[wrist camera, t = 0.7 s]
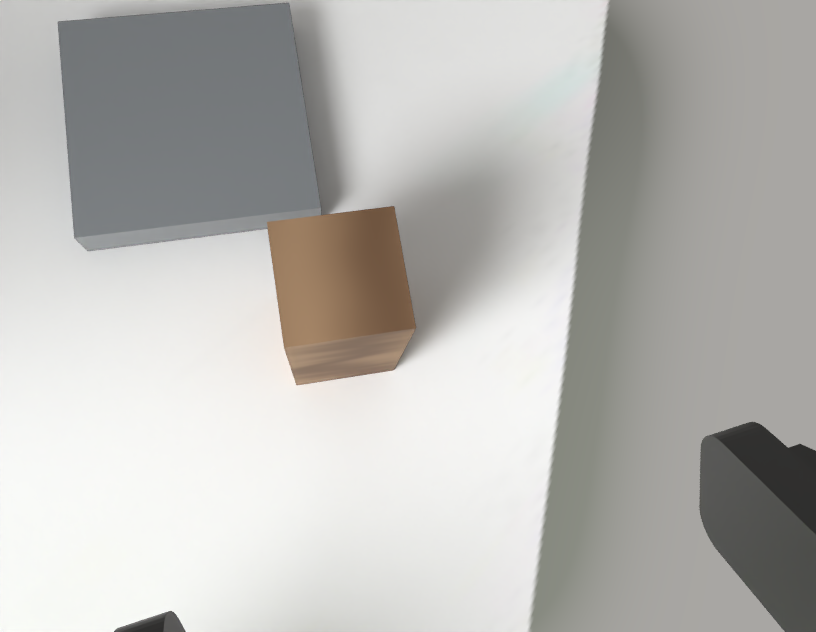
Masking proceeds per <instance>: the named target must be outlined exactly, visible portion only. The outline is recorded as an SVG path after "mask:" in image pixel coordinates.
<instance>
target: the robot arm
mask: <svg viewBox="0 0 816 632" xmlns="http://www.w3.org/2000/svg"><path fill="white" fill-rule="evenodd" d="M700 515H701V519H702V522H703V525H704V528H705V530H706V532H707V534H708V537H709V538H710V540H711V542H712V543H713V545H714V547H715V548H716V549H717V550H718V552H719V553H720V554H721V555H722V557H723V558H724V559H725V560H726V561H727V563H728V564H729V565H730V566H731V567H732V568H733V570H734V571H735V572H736V573H737V574H738V576H739V577H740V578H741V579H742V581H743V582H744V583H745V584H746V585H747V586H748V588H749V589H750V590H751V591H752V593H753V594H754V595H755V596H756V597H757V599H758V600H759V601H760V602H761V603H762V605H763V606H764V607H765V608H766V609H767V611H768V612H769V613H770V614H771V615H772V617H773V618H774V619H775V620H776V621H777V623H778V624H779V625H780V626H781V628H782V629H783V630H784V631H785V632H816V451H815V450H812V449H810V448H808V447H806V446H803V445H801V444H799V445H796V446H793V447H790V448H788V447H786V446H785V445H784V444H783V443H782V442H781V441H779V440H778V439H777V438H776V437H775V436H774V435H773V434H771V433H770V432H769V431H768V430H767V429H766V428H764V427H763V426H762V425H760V424H758V423H756V422H749V423H746V424H743V425H739V426H736V427H733V428H730V429H728V430H725V431H721V432H718V433H715V434H712V435H709V436H706V437H705V438H704V439H703V440H702V443H701V462H700ZM114 632H186V631H185V630H184V628H183V626H182V624H181V622H180V620H179V619H178V617H177V615H176V614H175V613H174V612H172V611H169V612H166V613H162V614H159V615H156V616H153V617H150V618H147V619H144V620H141V621H138V622H135V623H132V624H129V625H126V626H123V627H120V628H117V629H116V630H115V631H114Z"/></svg>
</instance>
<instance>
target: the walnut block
mask: <svg viewBox="0 0 816 632" xmlns="http://www.w3.org/2000/svg"><path fill="white" fill-rule="evenodd" d="M267 227H268V234H269V242H270V249H271V256H272V263H273V271H274V278H275V285H276V292H277V300H278V307H279V314H280V321H281V328H282V336H283V343H284V349H285V352H286V355H287V358H288V361H289V364H290V367H291V370H292V373H293V376H294V379H295V382H296V385H302V384H309V383H315V382H321V381H328V380H334V379H341V378H347V377H353V376H360V375H366V374H373V373H379V372H385V371H392V370H394V369H395V367H396V365H397V363H398V361H399V359H400V357H401V356H402V354H403V352H404V350H405V348H406V346H407V344H408V342H409V340H410V339H411V337H412V335H413V333H414V331H415V329H416V325H415V320H414V314H413V309H412V303H411V298H410V292H409V286H408V281H407V275H406V270H405V264H404V259H403V253H402V247H401V242H400V236H399V231H398V225H397V220H396V214H395V208H394V206H392V207H383V208H375V209H367V210H359V211H351V212H343V213H335V214H327V215H319V216H311V217H303V218H295V219H287V220H278V221H270V222H267Z"/></svg>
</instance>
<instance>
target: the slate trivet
mask: <svg viewBox="0 0 816 632" xmlns="http://www.w3.org/2000/svg"><path fill="white" fill-rule="evenodd" d="M58 31H59V44H60V57H61V70H62V83H63V96H64V109H65V122H66V135H67V149H68V162H69V175H70V188H71V201H72V214H73V227H74V238H75V239H76V240H77V241H78V242H79V243H80V244H81V245H82V246H83V247H84V248H85V249H86V250H87V251H93V250H101V249H109V248H117V247H125V246H133V245H141V244H149V243H157V242H165V241H173V240H181V239H189V238H197V237H205V236H213V235H221V234H229V233H237V232H245V231H253V230H261V229H268V227H267V222H270V221H278V220H287V219H295V218H303V217H311V216H319V215H321V205H320V198H319V192H318V186H317V179H316V173H315V166H314V160H313V154H312V147H311V141H310V134H309V128H308V122H307V115H306V109H305V102H304V96H303V89H302V83H301V77H300V70H299V64H298V57H297V51H296V45H295V38H294V32H293V25H292V19H291V13H290V6H289V3H280V4H267V5H255V6H243V7H231V8H218V9H206V10H194V11H182V12H169V13H157V14H145V15H133V16H120V17H108V18H96V19H84V20H71V21H59V22H58Z"/></svg>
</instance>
